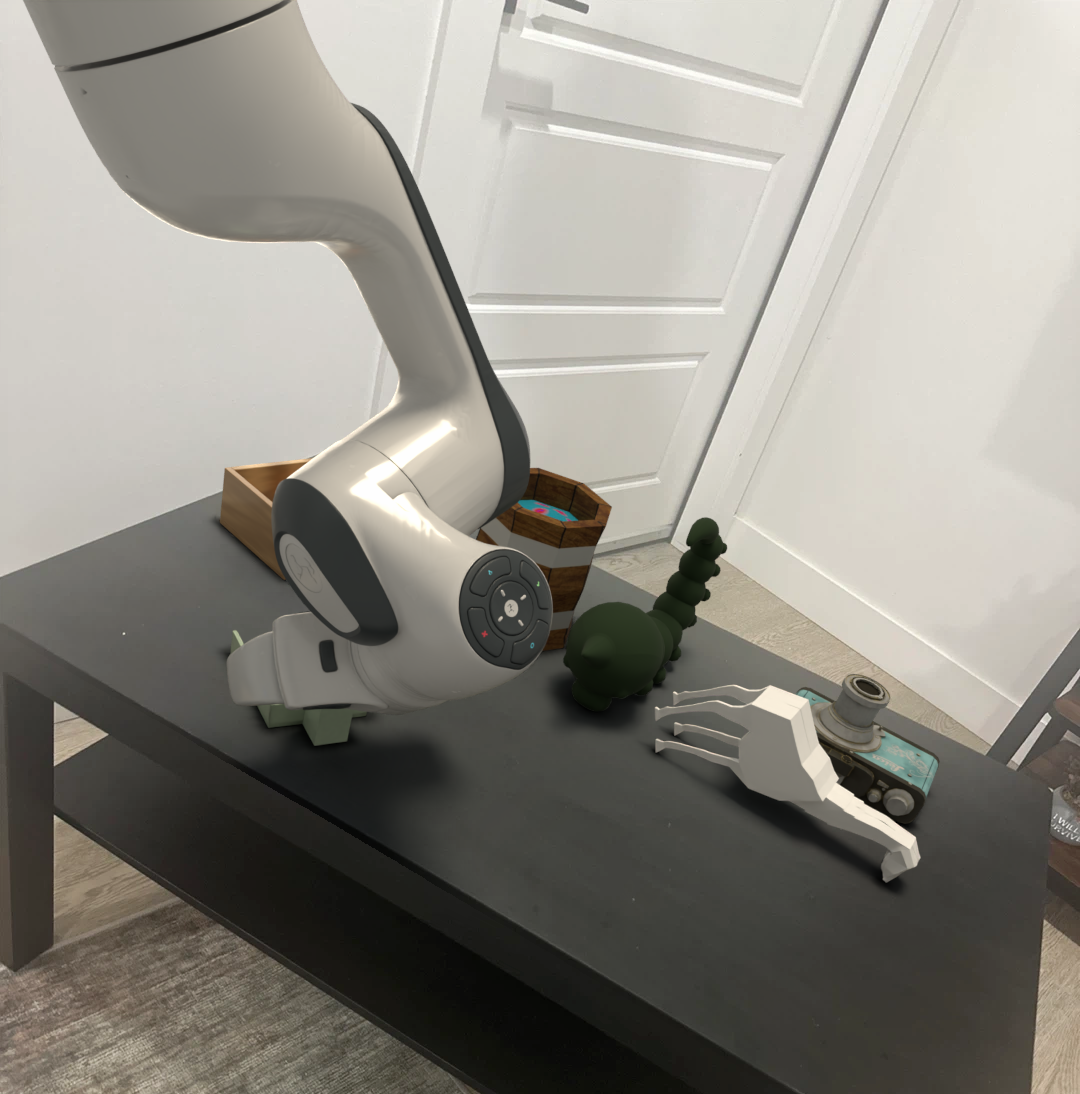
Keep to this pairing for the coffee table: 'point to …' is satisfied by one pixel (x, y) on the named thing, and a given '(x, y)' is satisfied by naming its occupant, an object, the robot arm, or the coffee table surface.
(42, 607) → the coffee table surface
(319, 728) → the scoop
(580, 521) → the mug
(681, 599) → the toy caterpillar
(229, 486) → the holder
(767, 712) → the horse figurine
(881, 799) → the camera
